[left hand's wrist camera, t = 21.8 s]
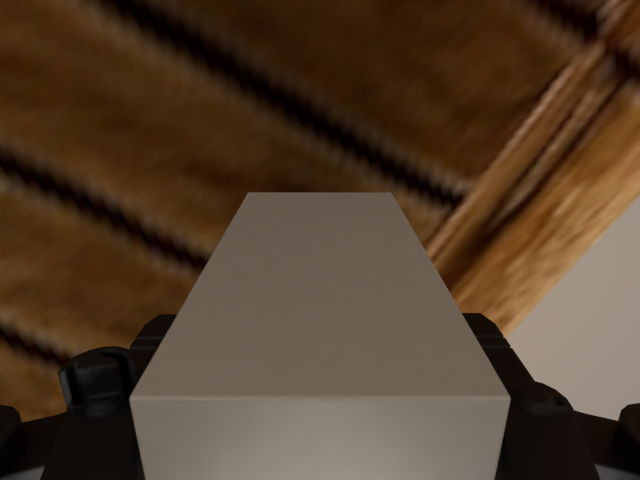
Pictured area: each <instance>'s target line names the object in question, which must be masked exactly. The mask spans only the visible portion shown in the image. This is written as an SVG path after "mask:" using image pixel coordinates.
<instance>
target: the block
mask: <svg viewBox="0 0 640 480" xmlns="http://www.w3.org/2000/svg"><path fill="white" fill-rule="evenodd" d="M129 401H130V406H131V411H132V416H133V421H134V426H135V431H136V436H137V441H138V446H139V451H140V456H141V461H142V466H143V471H144V476H145V480H495V475H496V470H497V465H498V460H499V455H500V450H501V445H502V440H503V435H504V430H505V425H506V420H507V415H508V410H509V405H510V395H509V394H508V392H507V390H506V389H505V387H504V385H503V383H502V382H501V380H500V378H499V377H498V375H497V373H496V371H495V370H494V368H493V366H492V365H491V363H490V361H489V359H488V358H487V356H486V354H485V353H484V351H483V349H482V347H481V346H480V344H479V342H478V340H477V339H476V337H475V335H474V334H473V332H472V330H471V328H470V327H469V325H468V323H467V322H466V320H465V318H464V316H463V315H462V313H461V311H460V310H459V308H458V306H457V304H456V303H455V301H454V299H453V298H452V296H451V294H450V292H449V291H448V289H447V287H446V285H445V284H444V282H443V280H442V279H441V277H440V275H439V273H438V272H437V270H436V268H435V267H434V265H433V263H432V261H431V260H430V258H429V256H428V255H427V253H426V251H425V249H424V248H423V246H422V244H421V243H420V241H419V239H418V237H417V236H416V234H415V232H414V230H413V229H412V227H411V225H410V224H409V222H408V220H407V218H406V217H405V215H404V213H403V212H402V210H401V208H400V206H399V205H398V203H397V201H396V200H395V198H394V196H393V194H392V193H391V192H249V193H248V194H247V196H246V197H245V199H244V201H243V202H242V204H241V206H240V208H239V209H238V211H237V213H236V214H235V216H234V218H233V220H232V221H231V223H230V225H229V227H228V228H227V230H226V232H225V233H224V235H223V237H222V239H221V240H220V242H219V244H218V246H217V247H216V249H215V251H214V252H213V254H212V256H211V258H210V259H209V261H208V263H207V264H206V266H205V268H204V270H203V271H202V273H201V275H200V277H199V278H198V280H197V282H196V283H195V285H194V287H193V289H192V290H191V292H190V294H189V295H188V297H187V299H186V301H185V302H184V304H183V306H182V308H181V309H180V311H179V313H178V314H177V316H176V318H175V320H174V321H173V323H172V325H171V327H170V328H169V330H168V332H167V333H166V335H165V337H164V339H163V340H162V342H161V344H160V345H159V347H158V349H157V351H156V352H155V354H154V356H153V358H152V359H151V361H150V363H149V364H148V366H147V368H146V370H145V371H144V373H143V375H142V376H141V378H140V380H139V382H138V383H137V385H136V387H135V389H134V390H133V392H132V394H131V395H130V398H129Z"/></svg>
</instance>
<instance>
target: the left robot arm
mask: <svg viewBox="0 0 640 480" xmlns="http://www.w3.org/2000/svg"><path fill="white" fill-rule="evenodd" d="M462 315H463V316H464V318H465V320H466V322H467V323H468V325H469V327H470V328H471V330H472V332H473V334H474V335H475V337H476V339H477V340H478V342H479V344H480V346H481V347H482V349H483V351H484V353H485V354H486V356H487V358H488V359H489V361H490V363H491V365H492V366H493V368H494V370H495V371H496V373H497V375H498V377H499V378H500V380H501V382H502V383H503V385H504V387H505V389H506V390H507V392H508V394H509V395H510V405H509V410H508V415H507V420H506V425H505V430H504V435H503V440H502V445H501V450H500V455H499V460H498V465H497V470H496V475H495V480H640V403H638V404H630V405H627V406H626V407H625V408H623V409H622V410H621V413H620V416H619V419H618V421H616V420H611V419H607V418H602V417H598V416H593V415H589V414H584V413H581V412H578V411H574V410H573V408H572V406H571V404H570V403H569V402H568V400H567V399H566V398H565V397H564V396H563V395H562V394H560V393H559V392H558V391H557V390H555V389H553V388H551V387H549V386H547V385H545V384H543V383H539V382H535V381H534V379H533V378H532V377H531V375H530V374H529V372H528V371H527V369H526V368H525V366H524V365H523V363H522V362H521V361H520V359H519V358H518V356H517V355H516V353H515V352H514V350H513V349H512V348H510V345H509V343H508V342H507V340H506V339H505V338H503V334H502V333H501V332H500V330H499V329H498V327H497V326H496V324H495V323H493V322H492V321H491V320H489V319H488V318H486V317H485V316H484V315H482V314H481V313H462ZM176 316H177V315H158V316H157V317H155V318H154V319H153V320H151V321H150V322H148V323H147V324H146V325H145V326H144V327H143V328H142V330H141V331H140V333H139V334H138V336H137V339H135V340H134V342H133V343H132V345H131V346H130V350H128V349H126V348H122V347H117V346H113V347H101V348H97V349H92V350H89V351H87V352H84V353H82V354H80V355H77V356H75V357H74V358H72V359H71V360H70V361H68V362H67V363H65V364H64V365H63V367H62V368H61V369H60V371H59V372H58V376H59V379H60V383H61V387H62V390H63V394H64V398H65V402H66V405H67V410H66V412H65V413H61V414H58V415H55V416H50V417H46V418H41V419H37V420H32V421H28V422H23V423H22V420H21V417H20V414H19V412H18V411H17V410H16V409H14V408H13V407H11V406H4V405H0V480H145V476H144V471H143V466H142V461H141V456H140V451H139V446H138V441H137V436H136V431H135V426H134V421H133V416H132V411H131V406H130V401H129V398H130V395H131V394H132V392H133V390H134V389H135V387H136V385H137V383H138V382H139V380H140V378H141V376H142V375H143V373H144V371H145V370H146V368H147V366H148V364H149V363H150V361H151V359H152V358H153V356H154V354H155V352H156V351H157V349H158V347H159V345H160V344H161V342H162V340H163V339H164V337H165V335H166V333H167V332H168V330H169V328H170V327H171V325H172V323H173V321H174V320H175V318H176Z"/></svg>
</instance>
